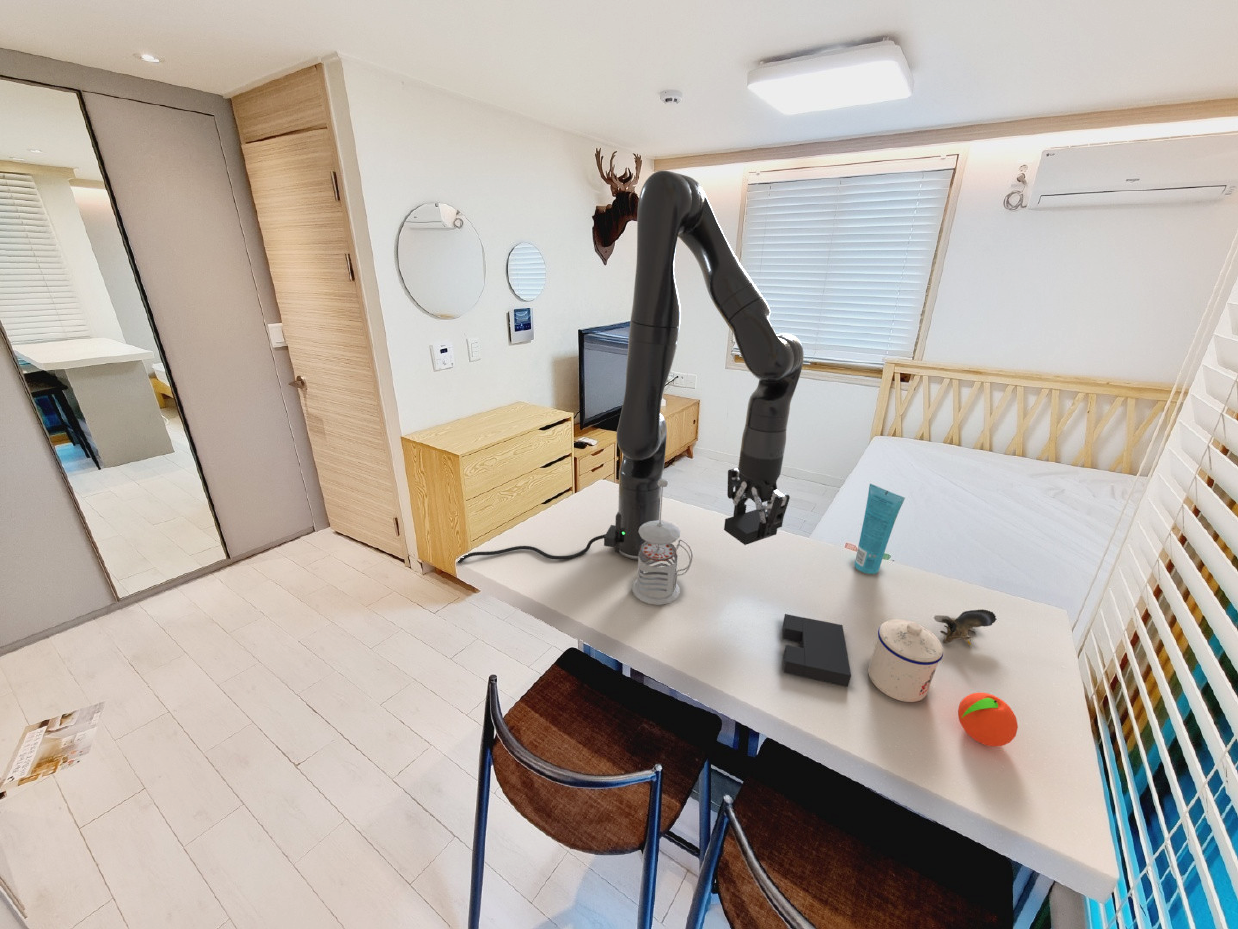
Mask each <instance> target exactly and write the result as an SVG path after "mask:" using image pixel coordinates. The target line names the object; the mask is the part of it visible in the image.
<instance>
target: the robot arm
mask: <svg viewBox="0 0 1238 929" xmlns="http://www.w3.org/2000/svg"><path fill="white" fill-rule="evenodd" d="M636 220H637V222H636V223H637V224H636V233H637V234H636V235H637V236H636V263H635V264H636V266H635V276H634V285H633V286H634V287H633V298H632V306H631V313H630V321H629V331H628V339H627V340H628V341H627V342H628V343H627V354H626V356H627V357H626V368H625V369H626V372H625V390H624V396H623V403H622V407H621V411H620V416H619V421H618V425H617V429H616V444H617V447H618V449H619V451H620V452H621V453H622V460H621V463H620V466H619V471H618V504H617V505H618V507H617V508H618V511H617V512H616V514H615V520H614V522H615V525H614V524H610V526H609V527H608V529H607V531H606V533H604V534H601V535H597V536H594V537H593V538H591V539H590V540H589V541H588V542H587V545H586V547H585V548H584V549H582V550H581V551H579V552H577V553H574V554H569V555H552V554H549V553H547V552H544V550H541V549H540V548H537V547H534V546H532V545H531V546H530V545H517V546H511V547H507V548H503V549H497V550H491V551H473V552H470V553H467V554H468V555H466V554H464V555H463V556H462V557H464V558H461V557H460V558H459V559H460V560H459V559H458V560H459V561H458V560H457V561H458V563H457V564H461V563H462V562H464V561H465V560H466V559H468V558H471V557H476V556H494V555H495V556H496V555H501V554H505V553H509V552H513V551H518V550H526V551H527V550H528V551H533V552H535V553H537V554H539V555H540V556H543V557H545V558H547V559H550V560H560V561H561V560H571V559H576V558H578V557H580V556H582V555H584V554H586V553H587V552H589V551H590V549H591V546H592V545H593V543H595V542H596V541H599V540H603V547H608V548H614V553H618V554H620V555H621V556H622V557H624V558H626V559H629V560H634V561H635V560H636V561H638V557H639V551H640V548H641V545H642V544H643V543H644V542H646V541H645V540H644V539H642V538H641V536H640V534H639V532H638V531H639V528H640V527H641V526H642V525H643V524H644V523H647V522H649V521H657V520H660V507H661V491H662V487H660V486H658V480H660V479H663V475H664V469H665V461H666V449H667V438H668V436H667V435H668V427H667V422H666V420H665V418H664V415H663V414H661V407H662V401H663V400H662V399H663V396H664V395H663V394H664V391H665V387H666V386H667V382H668V379H669V375H670V373H671V370H672V367H673V363H674V360H675V359H674V358H675V355H676V350H677V346H678V340H679V334H680V327H681V317H682V315H681V314H682V313H681V312H682V310H681V303H680V298H679V292H678V288H677V284H676V278H675V256H676V250H677V242H678V238H679V239H680V240H681V242H682V243H684V245H685V246H686V247H687V248H688V250H690V252H691V253H692V254H693V256H694V258H695V260H696V261H697V263H698V266H699V268H700V270H701V274H702V277H703V279H704V281H703V282H704V284H705V287H706V291H707V293H708V295H709V297H710V299H711V301H712V303H713V305H714V306H715V308H716V310H717V311H718V313H719V314H720V316H721V317H722V319H723V320H724V322H725V323H726V325H727V326H728V328H729V329H730V330H731V332H732V334H733V337H734V340H735V343H736V346H737V348H738V351H739V353H740V356H741V359H742V361H743V364H745V366H746V367H747V370H748V371H749V372H750V373H751V374H752V375H753V377H755V378H756V379H758V382H757V386H756V388H755V390H754V391H753V392H752V393H751V395H750V396H749V399H748V403H747V410H746V416H745V423H744V428H743V432H742V437H741V444H740V452H739V459H738V466H737V467H734V468H731V469H728V470H727V498H728V499H730V500H732V503H733V505H734V508H733V516H736V515H740V514H743V513H746V512H747V506H748V505H747V504H746V503H747V502H748V500H751V501H752V502H754V505H755V510H757V511H759V514H760V520H761V521H760V523H759V529H758V538H759V539H762V540H764V539H767V538H770V537H771V536H770V533H771V528H772V524H776V523H779V522H782V521H783V522H784V518H785V515H786V511H787V509H788V505H789V502H790V495H789V493H782V492H780V491H779V490H778V485H777V482H778V479H779V478H780V477H781V473H782V467H783V461H784V455H785V451H786V445H787V444H786V443H787V430H788V423H789V417H790V411H791V410H790V409H791V402H792V400H793V397H794V395H795V392H796V390H797V385H798V383H799V380H800V376H801V373H802V371H803V370H802V369H803V365H804V357H805V356H804V348H803V345H802V343H801V341H800V340H799V339H798V338H797V337H796V336H795V335H793V334H789V333H779V334H776V331H775V329H774V327H773V326H772V323H771V322H770V320H769V318H770V316H771V308H770V307H769V304H768V302H767V301H766V299H765V298H764V297H763V295H762V294H761V292H760V290H759V289H758V287H757V286H756V284H755V283H754V282H753V280H752V279H751V277H750V276H749V274H748V272H747V271H746V270H745V268H744V267H743V265H742V264H741V262H740V260H739V259H738V257H737V256H736V254H735V252H734V250H733V249H732V247H731V245H730V243H729V242H728V240H727V238H726V236H725V234H724V232H723V229H722V228H721V226H720V224H719V222H718V220H717V217H716V215H715V213H714V211H713V208H712V205H711V204H710V202H709V200H708V197H707V195H706V193H705V190H704V189H703V187H702V185H701V184H700V183H699V182H698V181H697V180H695V179H694V178H693V177H691V176H688V175H686V174H685V175H684V174H681V173H678V172H674V171H670V170H658V171H655V172H653V173H652V174H651V175H649V176H648V178H647V179H646V180H645V181H644V183H643V184H642V187H641V190H640V193H639V197H638V202H637V219H636ZM763 503H765V504H763ZM766 511H767V513H768V515H766ZM733 516H732V517H733ZM769 536H770V537H769ZM644 558H646V557H645V556H644Z"/></svg>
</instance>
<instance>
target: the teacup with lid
mask: <svg viewBox="0 0 1238 929" xmlns="http://www.w3.org/2000/svg"><path fill="white" fill-rule="evenodd" d="M873 648H874V649H873V652H872V655H871V659H870V661H869V665H868V668H867V671H868V672H867V673H868V676H869V679H870V681H871V682H872V683H873V685H874V686H875V687H876V688H877V689H878V690H879V691H880V692H881V693H883V694H885V695H886V696H888V697H890V698H891V699H894V700H897V701H900V702H904V703H905V702H906V703H916V702H920V701H922V700H923V699H924V698H925V697H926V696H927V694H928V691H929V689H930V687H931V686H930V685H931V683H932V681H933V678H934V675H935V672H936V670H937V667H938V665H939V662H940V661H942V659H943V656H944V647H943V645H942V643H941V641H940V640H939V638H938V637H937V636H936V635H935V634H934V633H933V632H932V631H931V630H929V629H927V628H926V627H924V626H922V625H920V624H919V623H916V622H913V621H909V620H905V619H890V620H887V621H884V622H882V624H881V625H880V626H879V627H878V629H877V639H876V642H875V644H874V647H873Z"/></svg>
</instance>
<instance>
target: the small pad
mask: <svg viewBox="0 0 1238 929" xmlns="http://www.w3.org/2000/svg"><path fill="white" fill-rule="evenodd" d="M765 512H766V515H768V513H767V510H766V511H765ZM760 521H761V520H760V514H759V511H757V510H756V509H753V510H750V511H746V513H743V514H740V515H736V516H730V517H727V518H725V519H724V527H723V531H725V532H726V533H728V534H729V535H730V536H732V537H733V538H734V539H736V540H737V541H738V542H740V543H741V544H742V545H743V546H746V545H747V546H748V545H750V544H752V543H755V542H758V541H761V540H763V539H759V538H758V529H759V523H760ZM783 523H784V520H783V521H782V522H779V523H776V524H772V528H771V533H770V536H769V537H768V538H770V537H773V536H776V535H777V534H778V529H780V528H783Z"/></svg>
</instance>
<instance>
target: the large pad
mask: <svg viewBox="0 0 1238 929" xmlns="http://www.w3.org/2000/svg"><path fill="white" fill-rule="evenodd" d="M844 631H845V630H844V626H843V624H839V623H834V622H829V621H824V620H819V619H814V618H808V617H803V616H799V615H798V616H797V615H792V614H788V613H785V614H784V615H783V621H782V639H783V640H787V641H792V642H796V643H800V646H794V645H790V644H785V645H784V651H783V655H782V656H783V657H782V658H783V673H784V674H787V675H793V676H797V677H802V678H807V679H811V680H816V681H820V682H824V683H829V684H832V685H833V684H834V685H838V686H843V687H847V688H848V687H849V685H850V681H851V677H852V673H851V672H852V671H851V667H850V660H849V654H848V649H847V644H846V638H845V637H846V636H845V632H844Z"/></svg>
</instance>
